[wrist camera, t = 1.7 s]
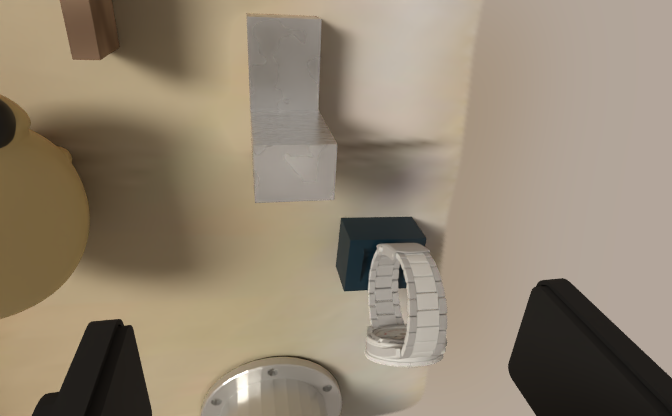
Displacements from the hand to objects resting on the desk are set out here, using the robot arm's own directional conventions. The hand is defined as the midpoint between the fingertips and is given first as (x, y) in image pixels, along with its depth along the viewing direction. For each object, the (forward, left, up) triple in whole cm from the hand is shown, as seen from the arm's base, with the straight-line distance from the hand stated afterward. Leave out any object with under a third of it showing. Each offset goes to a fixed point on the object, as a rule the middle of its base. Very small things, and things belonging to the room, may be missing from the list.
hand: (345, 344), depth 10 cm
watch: (-11, -7, -20) cm, 24 cm away
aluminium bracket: (+1, 0, -20) cm, 20 cm away
